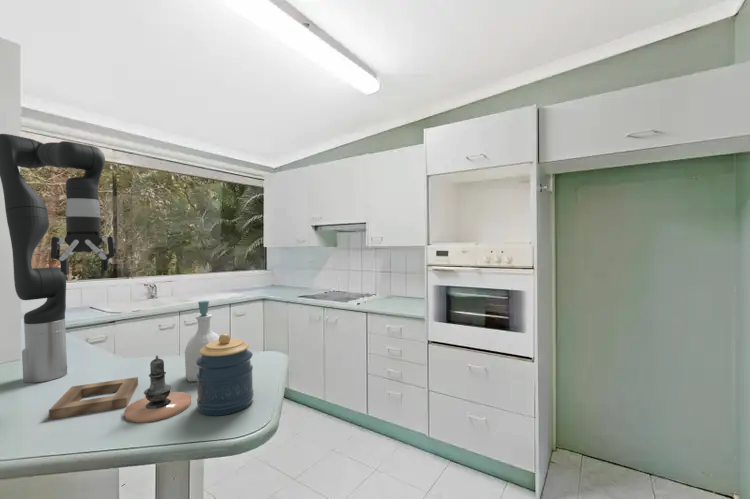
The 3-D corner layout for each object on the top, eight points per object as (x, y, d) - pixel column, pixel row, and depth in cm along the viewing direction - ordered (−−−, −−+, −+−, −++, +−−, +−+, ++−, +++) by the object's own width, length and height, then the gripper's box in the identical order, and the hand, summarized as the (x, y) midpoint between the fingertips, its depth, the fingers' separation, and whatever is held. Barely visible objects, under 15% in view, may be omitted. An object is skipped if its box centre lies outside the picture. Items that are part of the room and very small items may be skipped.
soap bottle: (224, 369, 116) (222, 297, 115) (220, 380, 106) (218, 302, 106) (191, 372, 113) (189, 299, 112) (184, 384, 104) (181, 304, 103)
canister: (259, 407, 89) (257, 335, 88) (200, 422, 82) (198, 344, 81) (247, 389, 100) (245, 325, 99) (194, 401, 93) (192, 332, 92)
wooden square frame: (49, 419, 84) (48, 410, 84) (72, 394, 98) (71, 386, 98) (126, 406, 90) (126, 397, 90) (138, 384, 104) (137, 377, 104)
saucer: (118, 427, 80) (117, 423, 80) (131, 402, 93) (131, 398, 93) (189, 414, 86) (189, 410, 86) (192, 391, 98) (192, 388, 98)
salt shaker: (158, 410, 86) (157, 360, 85) (138, 408, 87) (136, 358, 86) (177, 399, 91) (176, 352, 91) (158, 397, 93) (156, 350, 92)
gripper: (117, 217, 109) (118, 271, 109) (56, 216, 103) (58, 273, 103) (110, 215, 102) (112, 273, 102) (45, 214, 96) (47, 276, 97)
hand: (85, 273), depth 103 cm, fingers open, 8 cm apart
